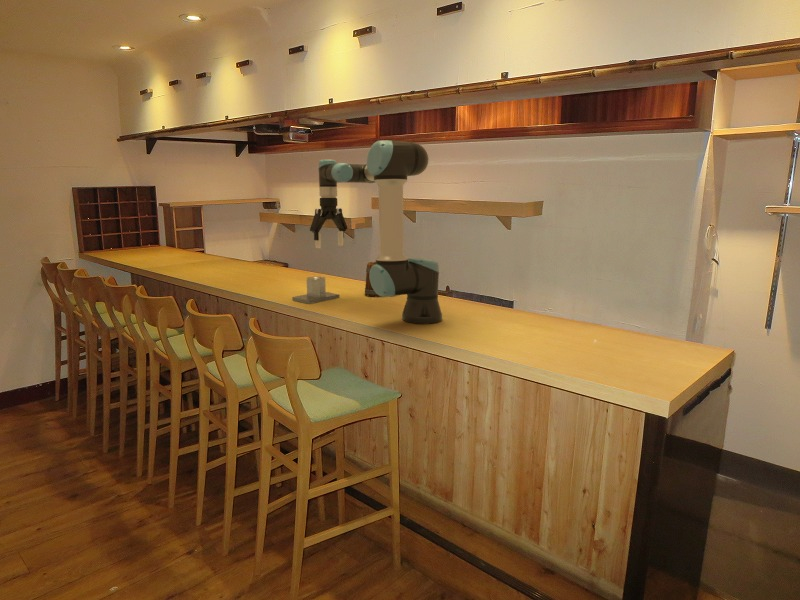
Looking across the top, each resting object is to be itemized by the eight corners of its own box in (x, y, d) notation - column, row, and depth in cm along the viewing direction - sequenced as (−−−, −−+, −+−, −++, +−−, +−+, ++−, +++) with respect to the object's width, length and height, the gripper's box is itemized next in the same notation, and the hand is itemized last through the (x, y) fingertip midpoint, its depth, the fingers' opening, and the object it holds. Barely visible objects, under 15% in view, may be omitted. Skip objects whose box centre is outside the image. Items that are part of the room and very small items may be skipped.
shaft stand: (339, 297, 240) (339, 275, 238) (309, 304, 226) (308, 280, 224) (322, 294, 247) (322, 273, 245) (292, 300, 233) (291, 277, 231)
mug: (361, 296, 244) (361, 263, 241) (369, 292, 254) (369, 260, 251) (393, 298, 239) (393, 265, 236) (400, 294, 249) (401, 262, 246)
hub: (329, 295, 237) (329, 278, 235) (315, 298, 231) (315, 280, 229) (317, 293, 242) (316, 275, 240) (303, 295, 236) (303, 278, 234)
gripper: (342, 197, 239) (343, 244, 243) (300, 197, 219) (302, 248, 223) (354, 197, 234) (355, 245, 238) (312, 197, 215) (314, 249, 219)
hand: (329, 247), depth 231 cm, fingers open, 13 cm apart
